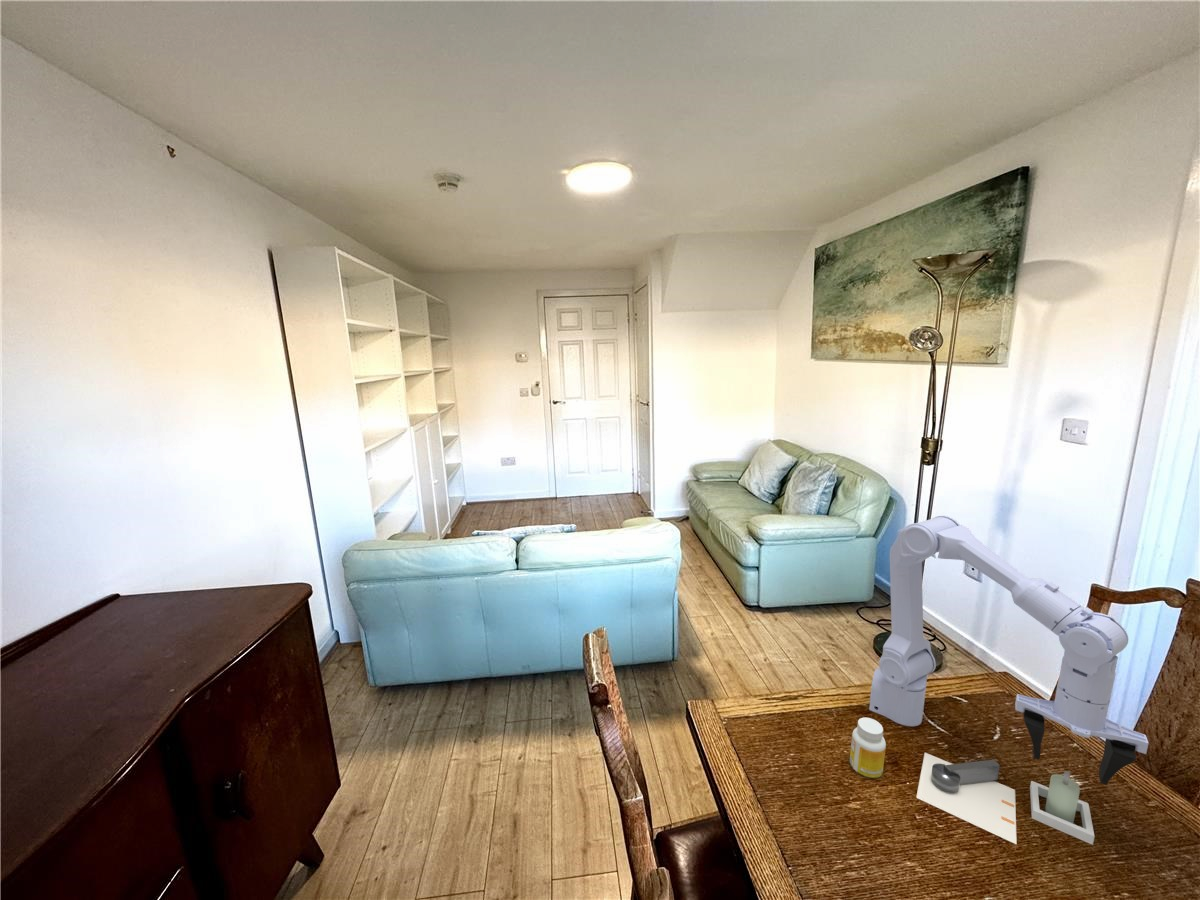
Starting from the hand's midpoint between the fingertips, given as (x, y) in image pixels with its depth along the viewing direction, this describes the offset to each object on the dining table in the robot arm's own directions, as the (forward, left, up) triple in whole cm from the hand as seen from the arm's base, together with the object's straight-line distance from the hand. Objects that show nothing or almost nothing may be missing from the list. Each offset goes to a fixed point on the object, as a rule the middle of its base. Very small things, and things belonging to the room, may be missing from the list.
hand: (1068, 767), depth 77 cm
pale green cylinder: (0, 0, -10) cm, 10 cm away
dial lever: (-12, -2, -9) cm, 15 cm away
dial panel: (-12, -5, -10) cm, 16 cm away
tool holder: (0, 0, -10) cm, 10 cm away
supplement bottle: (-26, -9, -10) cm, 30 cm away
